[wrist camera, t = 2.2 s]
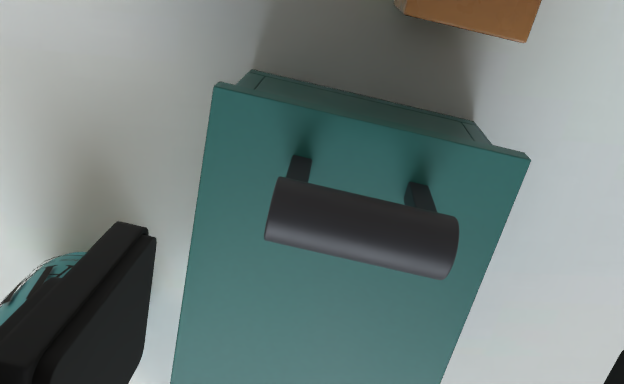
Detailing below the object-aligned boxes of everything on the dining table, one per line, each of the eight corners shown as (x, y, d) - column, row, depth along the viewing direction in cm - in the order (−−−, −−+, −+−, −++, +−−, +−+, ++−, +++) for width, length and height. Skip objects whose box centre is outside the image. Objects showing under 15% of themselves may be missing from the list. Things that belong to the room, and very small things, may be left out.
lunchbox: (250, 68, 25) (216, 103, 18) (474, 121, 25) (515, 173, 19) (209, 308, 30) (171, 399, 24) (393, 349, 30) (404, 450, 24)
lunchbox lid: (219, 80, 18) (168, 124, 13) (524, 152, 18) (589, 222, 13) (171, 399, 24) (123, 515, 19) (405, 451, 24) (418, 578, 19)
